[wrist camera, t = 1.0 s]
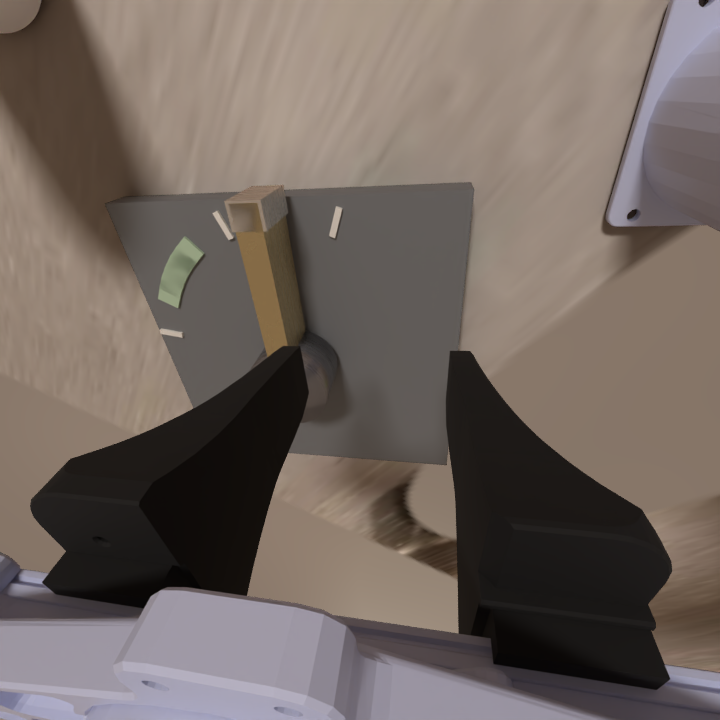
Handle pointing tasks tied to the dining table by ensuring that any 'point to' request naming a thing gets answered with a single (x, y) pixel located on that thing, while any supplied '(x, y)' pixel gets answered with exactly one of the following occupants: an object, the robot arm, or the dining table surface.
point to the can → (17, 14)
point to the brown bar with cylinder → (279, 287)
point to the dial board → (320, 303)
